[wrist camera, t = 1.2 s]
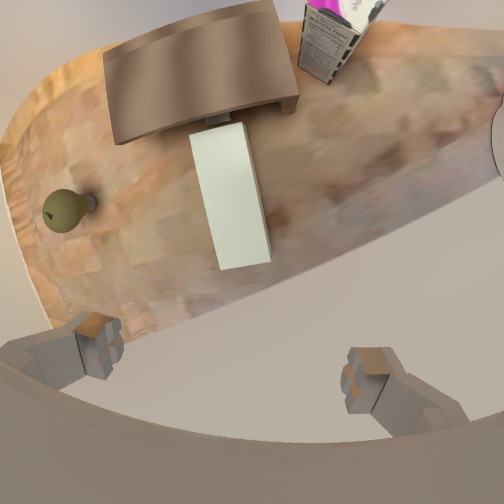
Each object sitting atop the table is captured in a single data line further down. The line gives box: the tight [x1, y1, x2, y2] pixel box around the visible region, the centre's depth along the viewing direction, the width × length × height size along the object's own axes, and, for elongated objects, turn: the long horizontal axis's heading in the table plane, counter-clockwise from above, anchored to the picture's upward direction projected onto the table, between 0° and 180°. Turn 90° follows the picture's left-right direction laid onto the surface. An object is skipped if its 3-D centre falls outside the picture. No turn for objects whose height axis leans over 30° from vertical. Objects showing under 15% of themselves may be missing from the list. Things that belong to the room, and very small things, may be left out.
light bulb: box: [42, 189, 96, 233], centre depth 32 cm, size 6×6×10 cm
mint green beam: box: [189, 122, 272, 270], centre depth 33 cm, size 6×16×4 cm, turn 12°
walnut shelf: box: [103, 0, 300, 145], centre depth 27 cm, size 18×11×10 cm, turn 102°
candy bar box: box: [298, 0, 388, 85], centre depth 20 cm, size 11×5×16 cm, turn 148°
